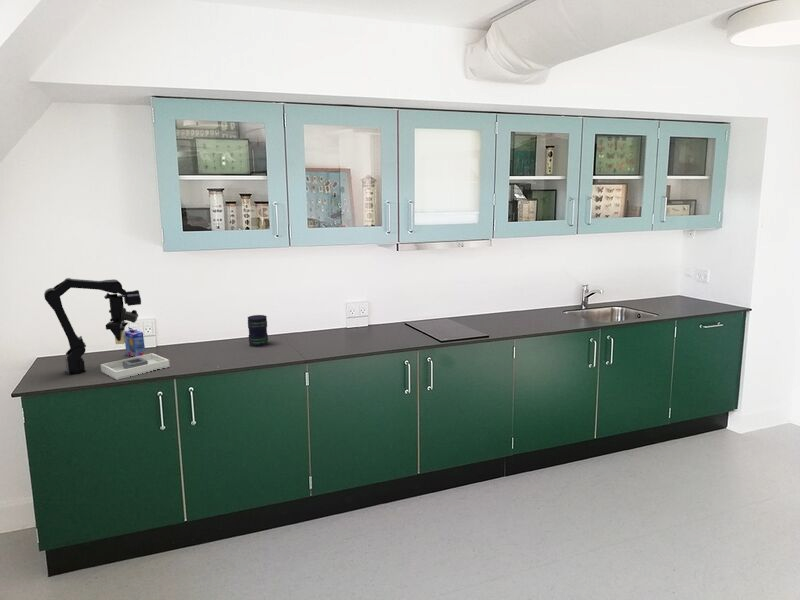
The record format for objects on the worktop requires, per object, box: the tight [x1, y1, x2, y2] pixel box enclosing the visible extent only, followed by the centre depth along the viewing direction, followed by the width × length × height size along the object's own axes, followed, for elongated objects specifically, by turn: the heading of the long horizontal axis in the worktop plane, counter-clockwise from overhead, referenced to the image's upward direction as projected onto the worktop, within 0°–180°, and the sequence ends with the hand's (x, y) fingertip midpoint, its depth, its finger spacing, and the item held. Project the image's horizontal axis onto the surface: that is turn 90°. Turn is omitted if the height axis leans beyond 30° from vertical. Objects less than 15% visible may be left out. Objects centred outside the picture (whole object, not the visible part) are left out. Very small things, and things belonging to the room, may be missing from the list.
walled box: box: [100, 352, 171, 381], centre depth 276 cm, size 24×17×4 cm
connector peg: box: [114, 329, 126, 345], centre depth 281 cm, size 4×4×6 cm
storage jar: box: [247, 314, 269, 348], centre depth 315 cm, size 10×10×15 cm
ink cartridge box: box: [124, 327, 147, 357], centre depth 297 cm, size 10×6×14 cm, turn 51°
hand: (120, 339), depth 281 cm, fingers closed on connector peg, 4 cm apart
